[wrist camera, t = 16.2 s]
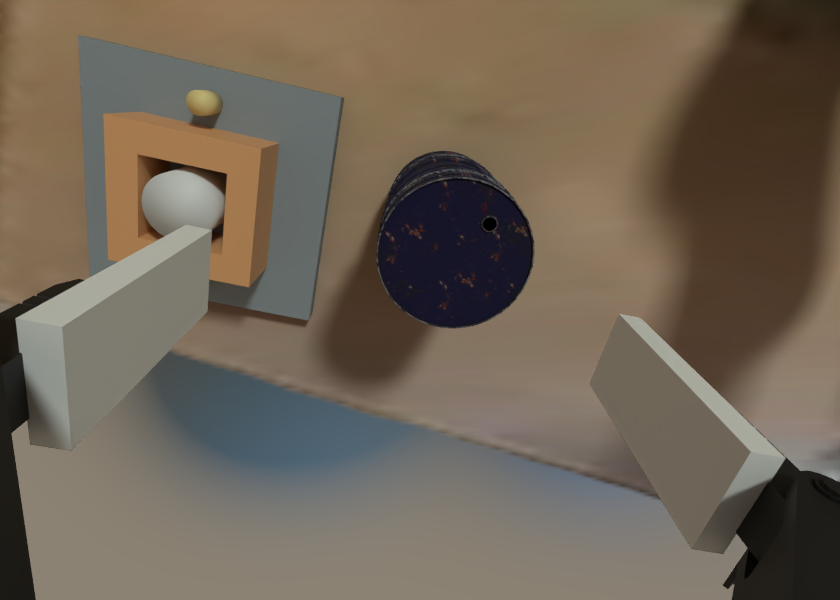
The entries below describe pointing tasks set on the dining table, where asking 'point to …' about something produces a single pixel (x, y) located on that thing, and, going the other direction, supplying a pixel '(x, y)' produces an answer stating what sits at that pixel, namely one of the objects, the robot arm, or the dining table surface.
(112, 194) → the square frame
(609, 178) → the dining table surface
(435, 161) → the storage jar
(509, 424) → the dining table surface
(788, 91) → the dining table surface
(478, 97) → the dining table surface
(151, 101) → the post board
